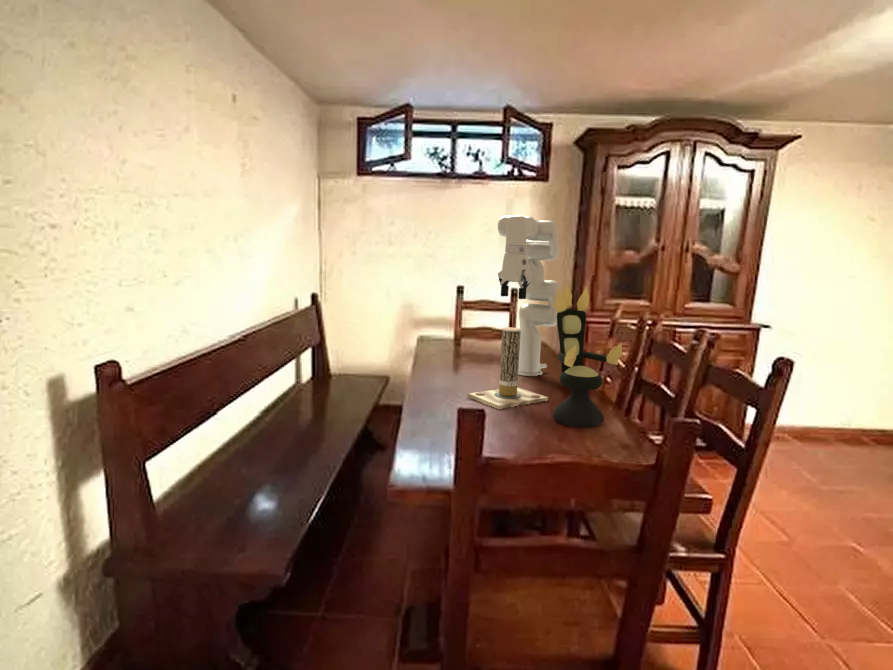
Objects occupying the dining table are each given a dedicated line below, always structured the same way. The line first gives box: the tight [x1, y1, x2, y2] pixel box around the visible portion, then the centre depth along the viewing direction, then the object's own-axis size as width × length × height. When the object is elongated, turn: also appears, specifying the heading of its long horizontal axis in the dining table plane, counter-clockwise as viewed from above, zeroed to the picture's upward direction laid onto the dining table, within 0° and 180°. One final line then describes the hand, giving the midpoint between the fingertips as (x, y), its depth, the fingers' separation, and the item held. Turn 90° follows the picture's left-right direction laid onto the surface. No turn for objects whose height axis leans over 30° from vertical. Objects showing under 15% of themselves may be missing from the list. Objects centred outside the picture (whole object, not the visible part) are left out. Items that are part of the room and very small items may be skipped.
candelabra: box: [552, 283, 623, 428], centre depth 194 cm, size 19×22×45 cm
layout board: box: [467, 386, 549, 410], centre depth 220 cm, size 24×18×2 cm
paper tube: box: [498, 326, 521, 397], centre depth 218 cm, size 7×7×25 cm
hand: (513, 297), depth 216 cm, fingers open, 9 cm apart
